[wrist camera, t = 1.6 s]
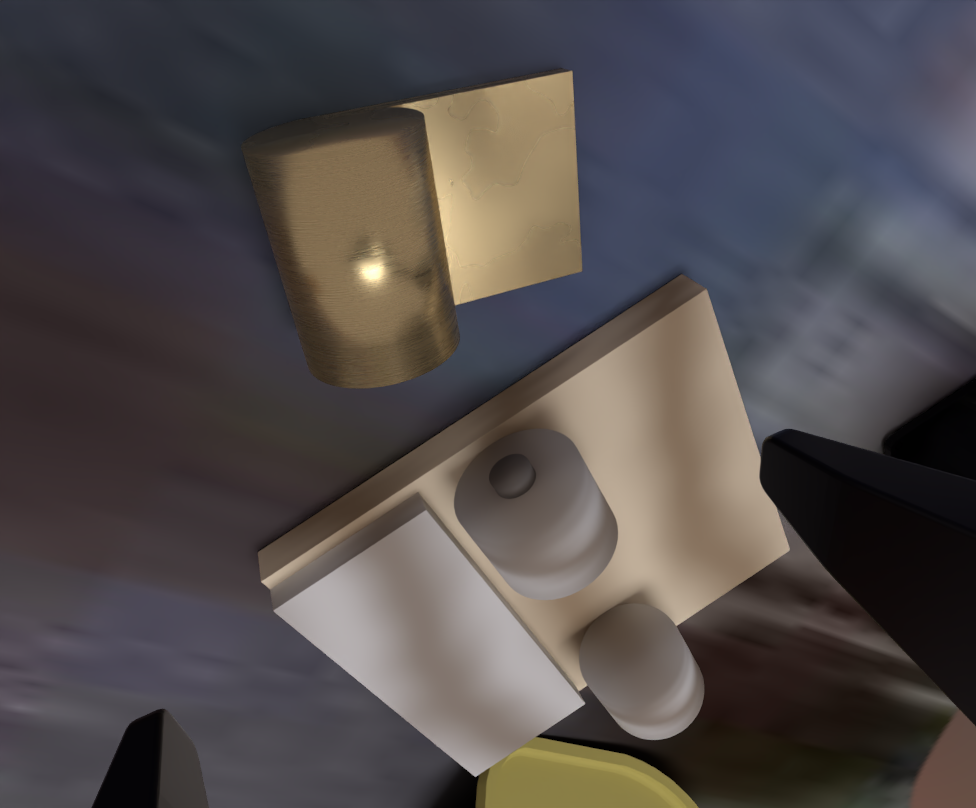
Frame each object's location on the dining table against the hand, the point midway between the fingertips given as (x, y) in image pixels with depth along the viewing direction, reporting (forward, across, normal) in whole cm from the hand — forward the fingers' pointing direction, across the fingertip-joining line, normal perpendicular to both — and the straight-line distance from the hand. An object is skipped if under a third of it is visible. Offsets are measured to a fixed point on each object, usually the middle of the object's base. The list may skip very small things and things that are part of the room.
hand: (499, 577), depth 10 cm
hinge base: (+13, -6, +15) cm, 20 cm away
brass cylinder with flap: (+13, -4, 0) cm, 14 cm away
